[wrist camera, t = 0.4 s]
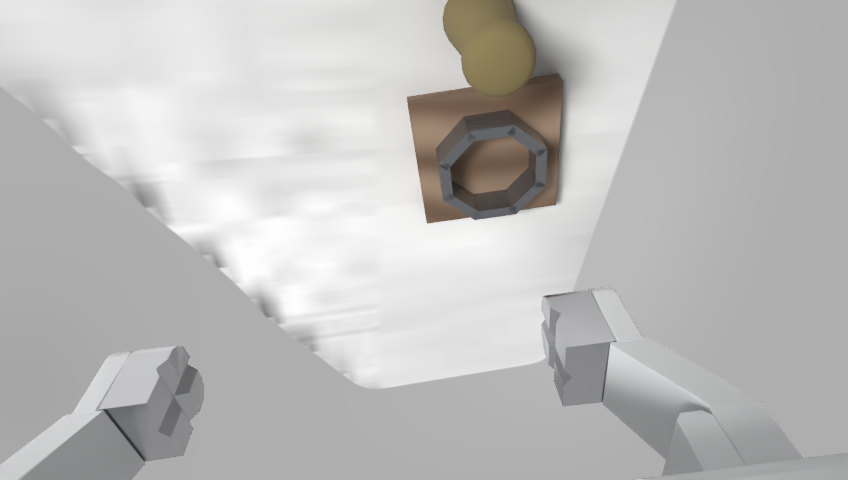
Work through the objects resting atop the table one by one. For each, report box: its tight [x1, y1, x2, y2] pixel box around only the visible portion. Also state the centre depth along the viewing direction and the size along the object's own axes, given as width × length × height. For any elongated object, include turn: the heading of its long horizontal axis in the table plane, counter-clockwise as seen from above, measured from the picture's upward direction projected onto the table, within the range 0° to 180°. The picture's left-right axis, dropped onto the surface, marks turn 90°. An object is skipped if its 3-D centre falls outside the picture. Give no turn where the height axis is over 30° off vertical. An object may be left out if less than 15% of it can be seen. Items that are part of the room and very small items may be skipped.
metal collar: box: [436, 109, 547, 220], centre depth 48 cm, size 10×10×3 cm
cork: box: [443, 0, 536, 98], centre depth 38 cm, size 6×6×11 cm
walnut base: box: [407, 74, 563, 223], centre depth 50 cm, size 14×14×2 cm
